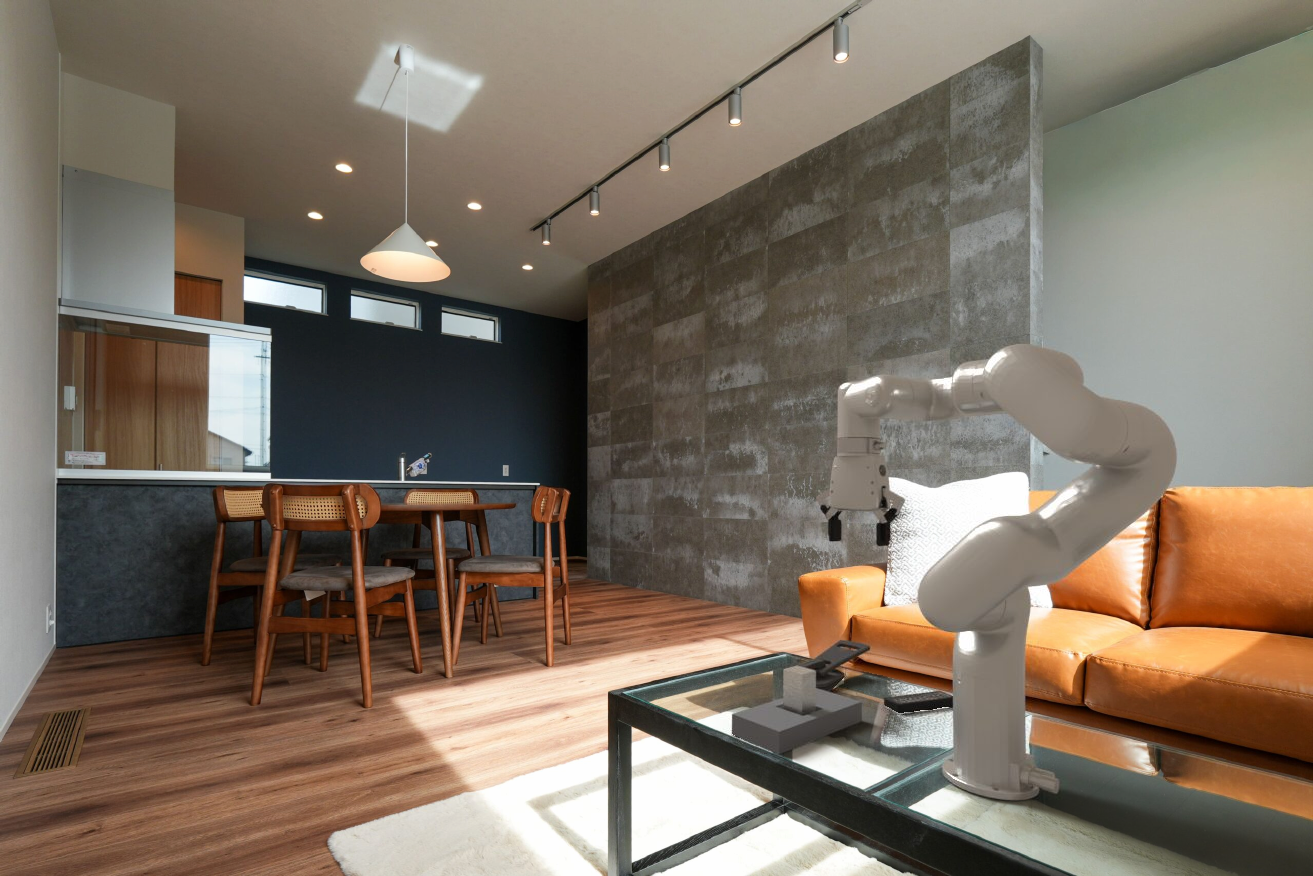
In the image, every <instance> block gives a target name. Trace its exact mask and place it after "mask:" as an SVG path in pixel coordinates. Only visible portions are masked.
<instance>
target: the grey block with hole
mask: <svg viewBox="0 0 1313 876" xmlns="http://www.w3.org/2000/svg"><path fill="white" fill-rule="evenodd" d="M862 708H863V703H862V701H861V700H859V699H853V698H850V697H847V696H844V695H841V694H838V693H833V692H831V691H830V692H828V691H824V690H821V689H818V688H816V712H813V713H810V714H807V715H805V716H802V715H799V714H796V713H793V712H790V711H787V710H784V709H783V697H781V698H779V699H775V700H773V701H770V702H766V703H763V704H759V705H756V706H753V707H750V708H747V709H744V710H741V711H736V712H733V713H732V714H731V735H732V734H733V735H735V736H738V737H739V738H738V739H740V738H741V739H740V740H742V739H743V740H742V741H745V742H747V741H748V742H747V743H749V744H752V745H754V744H755V746H757V747H759V746H760V748H762V749H764V748H765V750H767V751H769V750H770V751H769V752H771V753H774V754H776V753H777V755H781V754H784V753H787V752H788V751H791V750H793V749H796V748H799V747H802V746H803V745H806V744H808V743H809V744H810V743H812V742H813V741H817V740H819V739H821V738H823V737H826V736H829V735H831V734H834V733H836V732H838V731H842V730H844V729H847V728H849V727H851V726H855V725H857V724H859V723H861V722H862V721H863V720H862V719H863V715H862V713H863V711H862V710H863V709H862ZM735 736H734V737H735Z"/></svg>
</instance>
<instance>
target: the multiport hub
mask: <svg viewBox="0 0 1313 876" xmlns="http://www.w3.org/2000/svg"><path fill="white" fill-rule="evenodd" d="M884 705H885V706H887V707H889V708H891V709H892V710H894V711H896V712H898V713H904V712H914V711H920V710H932V711H934V710H933V709H937V708H942V707H953V694H950V693H947V692H944V691H941V690H935V691H926V692H919V693H918V692H917V693H911V694H902V695H895V696H887V697H886V696H885V697H883V706H884Z"/></svg>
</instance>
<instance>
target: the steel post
mask: <svg viewBox="0 0 1313 876" xmlns="http://www.w3.org/2000/svg"><path fill="white" fill-rule="evenodd" d="M782 676H783V679H782V681H783V683H782V687H783V688H782V690H783V691H782V692H783V693H782V696H783V697H782V698H783V709H784V710H787V711H790V712H793V713H796V714H799V715H802V716H805V715H807V714H810V713H813V712H816V671H815V670H812V669H808V668H804V667H801V666H797V665H795V666H790V667H787V668H784V669H783V675H782Z"/></svg>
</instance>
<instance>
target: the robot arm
mask: <svg viewBox="0 0 1313 876" xmlns="http://www.w3.org/2000/svg"><path fill="white" fill-rule="evenodd" d="M1005 414H1008V415H1009V416H1010V417H1011V418H1012V419H1014V421H1016V422H1017V423H1018V424H1019V425H1020V426H1022V428H1024V429H1025V430H1027V432H1029V434H1031V435H1032V436H1033V437H1034V438H1036V439H1037V440H1038V441H1039V442H1040V443H1041V444H1043V446H1045V447H1046V448H1047V449H1049V450H1050V451H1051V452H1053V453H1054V454H1056V455H1057V456H1059V457H1061V458H1063V459H1065V460H1067V461H1070V462H1072V463H1073V462H1074V463H1077V464H1080V465H1081V464H1083V465H1091V466H1090V468H1088V469H1087V470H1086V471H1084V472H1083V473H1082V474H1080V475H1079V476H1077V477H1076V478H1074V479H1072V480H1071V481H1069V482H1067V483H1066V484H1065V485H1063V486H1062V487H1061V488H1059V490H1057V491H1056V493H1055V494H1054V495H1053V496H1052V497H1050V498H1049V499H1047V501H1045V502H1044V503H1043V504H1042V505H1040V506H1039V507H1038V508H1036V509H1035V510H1034V511H1031V512H1030V513H1028V514H1022V515H1003V516H1002V515H1001V516H998V517H993V518H990V519H987V520H985V521H983V522H981V523H980V524H978V525H976V526H975V527H974V528H972V529H971V530H970V531H969V532H968V533H967V534H966V535H965V536H963V537H962V538H961V539H960V540H959V541H958V542H957V543H956V544H954V545H953V547H952V548H950V549H949V550H948V551H947V552H945V554H944V555H943V556H942V557H941V558H940V559H938V560H937V561H936V562H935V563H934V564H933V565H932V566H931V567H930V568H929V569H927V572H926V573H925V574H924V575H923V576H922V579H921V580H920V583H919V586H918V590H917V603H918V608H919V610H920V612H921V614H922V616H923V618H925V620H926V621H927V622H928V623H929V624H930V625H932V626H933V627H935V628H936V629H938V630H940V631H944V632H947V633H953V634H955V638H954V642H953V648H952V649H953V650H952V696H953V708H952V737H953V738H952V741H953V742H952V743H953V744H952V747H953V748H952V749H953V751H952V752H953V753H952V755H953V756H951V757H948V758H946V759H945V760H943V762H942V763H941V772H942V774H943V776H944V777H945V779H946V780H948V781H949V782H950V783H951V784H953V785H955V786H956V787H958V788H960V789H962V790H964V791H967V792H969V793H972V794H974V795H975V794H976V795H978V796H981V797H986V798H990V799H996V800H1002V801H1003V800H1004V801H1025V800H1029V799H1032V798H1035V797H1036V796H1038V795H1039V793H1040V789H1041V790H1044V791H1047V792H1049V793H1052V794H1058V792H1059V791H1060V790H1059V789H1060V780H1059V778H1058V777H1057V778H1056V774H1055V772H1053V771H1050V770H1046V769H1041V768H1038V767H1037V765H1035V764H1034V755H1033V754H1031V753H1027V745H1026V744H1027V741H1026V737H1027V736H1026V731H1027V730H1026V645H1027V644H1026V643H1027V635H1028V634H1027V633H1028V627H1029V621H1030V615H1031V607H1032V605H1031V604H1032V601H1031V593H1030V589H1029V588H1030V587H1031V588H1032V587H1039V586H1045V585H1046V586H1047V585H1051V584H1055V583H1058V582H1060V581H1061V580H1063V579H1065V578H1067V577H1068V576H1069V575H1071V573H1072V572H1074V571H1075V570H1076V569H1077V568H1078V567H1080V565H1082V564H1083V563H1085V562H1086V561H1087V560H1088V559H1090V558H1091V557H1092V556H1093V555H1095V554H1096V553H1097V552H1099V551H1100V550H1101V549H1102V548H1104V547H1105V546H1107V545H1108V544H1109V543H1110V542H1111V541H1112V540H1113V539H1114V538H1116V537H1117V536H1118V535H1119V534H1120V533H1122V532H1123V531H1125V530H1126V529H1127V528H1129V527H1130V526H1131V525H1132V524H1134V523H1135V522H1136V521H1137V520H1139V519H1140V518H1141V517H1142V516H1144V515H1146V513H1147V512H1149V510H1150V509H1152V508H1153V506H1155V504H1157V503H1158V501H1159V500H1161V498H1162V497H1163V496H1164V494H1165V493H1166V491H1167V490H1168V488H1169V486H1170V485H1171V483H1172V481H1173V478H1174V475H1175V472H1176V470H1177V469H1176V467H1177V461H1178V453H1177V446H1176V441H1175V438H1174V435H1173V434H1172V432H1171V429H1170V427H1169V426H1168V425H1167V423H1166V422H1165V421H1164V419H1162V417H1161V416H1160V415H1158V414H1157V413H1156V412H1155V411H1153V410H1151V409H1150V408H1147V407H1146V406H1143V405H1141V404H1138V403H1135V402H1131V401H1125V400H1121V399H1114V398H1108V397H1104V396H1100V395H1099V394H1096V393H1095V392H1093V391H1092V390H1091V389H1090V388H1088V387H1087V386H1085V385H1084V373H1083V369H1082V367H1081V366H1080V365H1079V363H1078V362H1077V361H1076V360H1075V359H1074V358H1073V357H1071V355H1068V354H1067V353H1065V352H1062V351H1059V350H1055V349H1051V348H1048V347H1042V346H1038V345H1034V344H1029V343H1016V344H1011V345H1008V346H1004V347H1003V348H1001V349H999V350H997V351H996V352H995V353H994V354H992V355H991V356H990V357H989V358H987V359H980V360H979V359H978V360H970V361H966V362H962V363H961V364H960V365H959V366H958V367H956V369H955V370H954V372H953V374H952V376H948V377H947V376H946V377H941V378H940V377H939V378H932V379H918V378H912V377H906V376H900V375H894V374H893V375H892V374H882V373H881V374H877V375H874V376H871V377H868V378H865V379H863V380H855V381H854V380H853V381H847V382H844V383H842V384H841V385H839V387H838V388H837V440H836V441H837V447H836V448H837V449H836V450H837V451H836V453H837V454H836V455H837V456H834V459H833V461H832V462H833V463H832V467H831V474H830V475H831V476H830V485H829V488H827V489H826V490H825V491H822V492H821V493H819V494H818V495H816V496H815V497H816V501H817V503H818V506H819V507H820V511H821V512H822V514H823V515H824V516H825V517H824V518H825V519H826V520H827V521H828V522H827V535H828V541H829V542H830V543H831V542H833V543H834V542H840V541H842V520H841V519H839V518H840V516H841V515H842V514H843V513H844V512H845V511H849V512H850V511H851V512H852V511H853V512H872V513H873V514H874V516H875V517H876V519H877V520H878V521H879V522H877V523H876V530H875V532H876V539H875V541H876V546H877V547H887V546H889V545H890V541H891V524H892V523H894V520H895V519H896V518H897V517H898V516H899V515H900V514H901V511H902V508H903V506H904V504H905V502H906V500H905V498H904V497H902V496H901V495H899V494H897V493H895V492H894V491H892V490H891V489H890V479H889V471H888V470H889V469H888V465H887V461H886V457H885V456H881V454H882V450H886V449H887V443H886V441H882V439H881V419H890V420H899V421H901V420H902V421H906V422H909V421H910V422H933V421H949V420H957V419H964V418H970V417H980V416H993V415H1005ZM828 499H829V503H830V504H829V503H828ZM891 502H892V503H891ZM891 504H892V505H891Z"/></svg>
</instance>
